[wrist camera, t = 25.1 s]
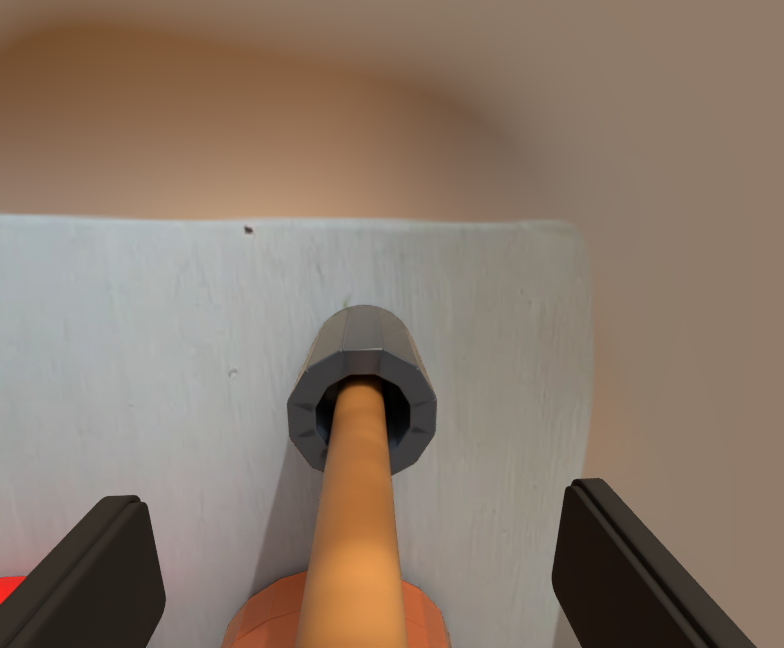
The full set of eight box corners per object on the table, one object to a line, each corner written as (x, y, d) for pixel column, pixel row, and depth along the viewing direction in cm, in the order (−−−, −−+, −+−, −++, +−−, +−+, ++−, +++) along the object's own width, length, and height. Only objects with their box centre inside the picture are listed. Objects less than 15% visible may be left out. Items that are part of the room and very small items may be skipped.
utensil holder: (414, 304, 20) (440, 347, 13) (412, 397, 21) (434, 479, 14) (311, 304, 19) (282, 349, 13) (316, 399, 21) (292, 484, 14)
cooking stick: (377, 333, 19) (422, 757, 4) (379, 365, 20) (425, 852, 5) (343, 335, 19) (254, 777, 4) (346, 367, 20) (277, 873, 4)
